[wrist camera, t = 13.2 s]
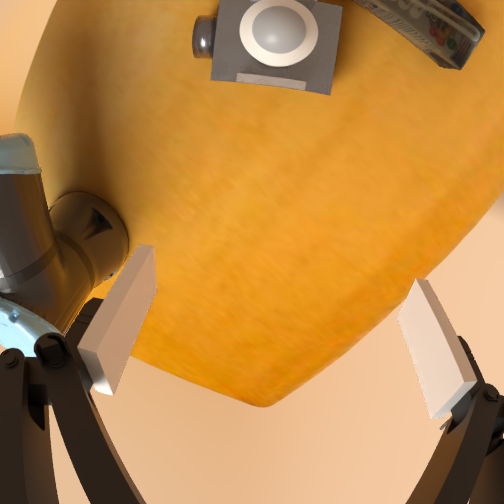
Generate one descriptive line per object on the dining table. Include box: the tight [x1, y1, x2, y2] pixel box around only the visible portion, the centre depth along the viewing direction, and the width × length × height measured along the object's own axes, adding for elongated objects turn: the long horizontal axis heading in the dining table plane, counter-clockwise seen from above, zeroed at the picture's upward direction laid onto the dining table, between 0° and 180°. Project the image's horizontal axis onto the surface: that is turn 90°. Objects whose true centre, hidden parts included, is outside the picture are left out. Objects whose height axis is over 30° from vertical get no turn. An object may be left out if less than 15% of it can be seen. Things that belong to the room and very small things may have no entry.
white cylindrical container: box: [240, 0, 318, 67], centre depth 22 cm, size 6×6×8 cm
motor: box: [192, 0, 343, 95], centre depth 27 cm, size 14×10×10 cm
